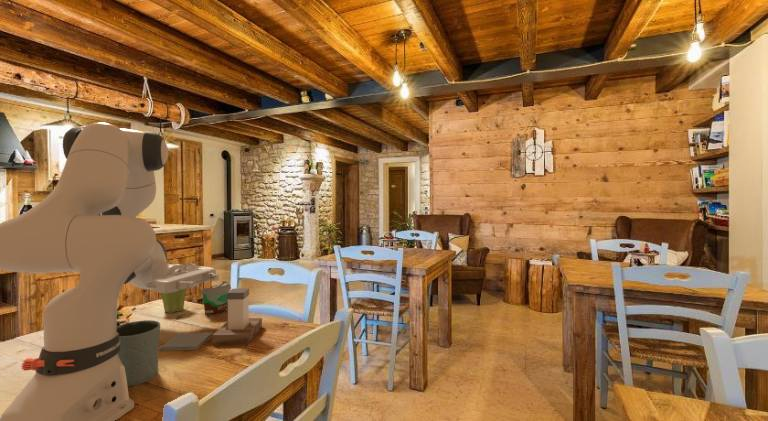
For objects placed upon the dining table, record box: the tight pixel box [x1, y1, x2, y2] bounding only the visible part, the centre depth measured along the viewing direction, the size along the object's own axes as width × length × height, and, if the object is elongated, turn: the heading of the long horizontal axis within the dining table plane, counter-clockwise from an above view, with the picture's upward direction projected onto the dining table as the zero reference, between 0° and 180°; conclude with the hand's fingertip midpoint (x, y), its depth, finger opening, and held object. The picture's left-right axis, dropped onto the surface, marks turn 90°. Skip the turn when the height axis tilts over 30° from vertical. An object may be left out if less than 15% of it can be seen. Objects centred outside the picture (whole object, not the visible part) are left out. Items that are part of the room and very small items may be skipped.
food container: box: [201, 280, 232, 316], centre depth 134 cm, size 12×6×10 cm, turn 168°
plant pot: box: [159, 288, 188, 314], centre depth 135 cm, size 9×9×9 cm
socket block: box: [211, 317, 263, 346], centre depth 111 cm, size 14×10×3 cm
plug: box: [227, 287, 250, 330], centre depth 110 cm, size 5×5×14 cm
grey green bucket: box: [117, 319, 161, 387], centre depth 85 cm, size 10×10×12 cm
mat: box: [159, 332, 213, 352], centre depth 105 cm, size 10×10×1 cm
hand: (206, 281), depth 114 cm, fingers open, 8 cm apart
